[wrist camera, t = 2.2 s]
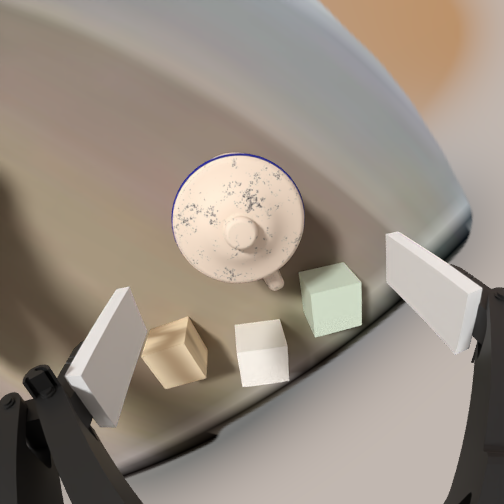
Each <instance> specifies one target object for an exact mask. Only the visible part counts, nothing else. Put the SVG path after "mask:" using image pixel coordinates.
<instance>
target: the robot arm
mask: <svg viewBox="0 0 504 504" xmlns="http://www.w3.org/2000/svg"><path fill="white" fill-rule="evenodd" d="M386 282H387V283H388V284H389V285H390V286H391V287H392V288H393V289H394V290H395V291H396V292H397V293H398V294H399V295H400V296H401V297H402V298H403V299H404V300H405V301H406V303H408V305H410V307H411V308H412V309H413V310H414V311H415V312H416V313H417V314H418V315H419V316H420V317H421V318H422V319H423V320H424V321H425V322H426V323H427V324H428V325H429V327H430V328H431V329H432V330H433V331H434V332H435V333H436V334H437V335H438V336H439V337H440V338H441V340H442V341H443V342H444V343H445V344H446V345H447V346H448V347H449V348H450V349H451V351H452V352H453V353H454V354H455V355H456V354H458V353H460V352H462V351H464V350H466V349H468V348H469V346H470V342H471V339H472V336H473V337H474V338H475V339H476V340H477V345H476V348H475V352H474V355H473V358H472V361H471V362H472V363H474V360H475V363H474V364H475V365H474V375H473V385H472V394H471V401H470V407H469V414H468V420H467V425H466V430H465V435H464V440H463V445H462V449H461V453H460V457H459V461H458V465H457V469H456V473H455V476H454V479H453V483H452V486H451V489H450V492H449V495H448V497H447V499H446V500H445V502H444V504H504V288H494V289H490V288H489V287H487V286H486V285H485V284H483V283H482V282H481V281H479V280H478V279H476V278H474V277H473V276H472V275H471V274H468V272H466V271H465V270H463V269H462V268H460V267H457V266H455V265H452V264H450V265H449V264H448V263H446V262H445V261H443V260H442V259H440V258H439V257H437V256H436V255H434V254H433V253H431V252H430V251H428V250H426V249H425V248H423V247H422V246H420V245H419V244H417V243H416V242H414V241H412V240H411V239H409V238H408V237H406V236H405V235H403V234H401V233H400V232H394V233H389V234H386ZM146 334H147V330H146V327H145V325H144V322H143V320H142V317H141V315H140V312H139V310H138V307H137V305H136V302H135V300H134V297H133V295H132V292H131V289H130V287H125V288H120V289H116V291H115V292H114V294H113V295H112V297H111V298H110V300H109V302H108V303H107V305H106V306H105V308H104V309H103V311H102V313H101V314H100V316H99V317H98V319H97V321H96V322H95V324H94V326H93V327H92V329H91V330H90V332H89V334H88V335H87V337H86V339H85V341H83V342H81V343H80V344H79V345H78V346H77V347H75V348H74V350H73V351H72V353H71V355H70V358H68V360H67V362H66V364H65V365H64V367H63V369H62V370H61V372H60V374H59V376H58V377H57V378H56V376H55V375H54V373H53V372H52V370H51V369H50V367H49V366H48V365H39V366H36V367H34V368H33V369H31V370H30V371H29V372H28V373H27V374H26V375H25V377H24V378H23V385H24V386H25V387H26V389H27V390H28V392H29V393H30V394H31V396H32V397H33V399H31V400H27V401H24V400H23V399H22V398H21V396H20V395H19V394H18V393H15V392H13V393H9V394H7V395H5V396H4V397H3V398H2V399H1V400H0V504H64V503H63V496H62V491H61V484H60V478H61V480H62V482H63V485H64V487H65V489H66V492H67V494H68V496H69V498H70V500H71V502H72V504H143V503H142V502H141V500H140V499H139V498H138V496H137V495H136V494H135V493H134V491H133V490H132V488H131V487H130V485H129V484H128V483H127V481H126V480H125V478H124V477H123V475H122V474H121V473H120V471H119V470H118V468H117V467H116V465H115V464H114V462H113V460H112V459H111V457H110V456H109V454H108V452H107V451H106V449H105V448H104V446H103V444H102V443H101V441H100V439H99V437H98V436H97V434H96V432H95V430H94V429H93V428H92V427H91V425H90V424H91V421H92V418H93V419H94V420H95V421H96V423H97V424H98V425H99V426H100V427H117V424H118V420H119V417H120V413H121V410H122V407H123V403H124V400H125V397H126V394H127V391H128V387H129V384H130V381H131V378H132V375H133V372H134V369H135V366H136V363H137V360H138V357H139V354H140V351H141V348H142V345H143V342H144V340H145V337H146ZM59 476H60V478H59Z"/></svg>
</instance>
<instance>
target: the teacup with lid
mask: <svg viewBox="0 0 504 504" xmlns="http://www.w3.org/2000/svg"><path fill="white" fill-rule="evenodd" d="M304 223H305V211H304V204H303V200H302V197H301V194H300V192H299V190H298V188H297V186H296V184H295V183H294V181H293V180H292V179H291V177H290V176H289V175H288V174H287V173H286V172H285V171H284V170H283V169H282V168H280V167H279V166H278V165H276V164H275V163H273V162H271V161H269V160H267V159H265V158H262V157H260V156H256V155H251V154H245V153H226V154H222V155H219V156H216V157H214V158H212V159H210V160H209V161H207V162H205V163H203V164H202V165H200V166H199V167H197V168H196V169H195V170H194V171H193V172H192V173H191V174H189V176H188V177H187V178H186V179H185V180H184V182H183V183H182V185H181V187H180V188H179V190H178V192H177V195H176V197H175V200H174V203H173V208H172V229H173V234H174V237H175V241H176V243H177V245H178V247H179V249H180V251H181V253H182V254H183V255H184V257H185V258H186V259H187V260H188V262H189V263H190V264H191V265H192V266H193V267H194V268H196V269H197V270H198V271H200V272H201V273H203V274H204V275H206V276H208V277H210V278H213V279H216V280H219V281H223V282H228V283H247V282H252V281H256V280H260V279H262V278H263V279H264V280H265V282H266V284H267V285H268V287H269V288H270V289H271V290H273V291H277V290H279V289H281V288H282V287H283V286H284V281H283V278H282V276H281V274H280V271H279V269H280V268H281V267H282V266H283V265H284V264H285V263H286V262H287V261H288V260H289V259H290V258H291V257H292V255H293V254H294V252H295V251H296V249H297V247H298V245H299V243H300V240H301V237H302V234H303V230H304Z"/></svg>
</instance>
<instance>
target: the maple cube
mask: <svg viewBox="0 0 504 504" xmlns="http://www.w3.org/2000/svg"><path fill="white" fill-rule="evenodd" d="M207 354H208V349H207V348H206V346H205V344H204V342H203V341H202V339H201V337H200V336H199V334H198V332H197V331H196V329H195V327H194V325H193V324H192V322H191V320H190V318H189V317H186V318H183V319H180V320H177V321H174V322H171V323H168V324H165V325H162V326H159V327H156V328H153V329H150V331H149V334H148V337H147V340H146V343H145V346H144V349H143V352H142V356H141V357H142V359H143V360H144V361H145V363H146V364H147V366H148V367H149V368H150V370H151V371H152V372H153V374H154V375H155V376H156V378H157V379H158V380H159V382H160V383H161V384H162V385H163V387H164V388H165V389H168V388H172V387H176V386H180V385H183V384H187V383H191V382H194V381H198V380H202V379H205V378H206V376H207Z"/></svg>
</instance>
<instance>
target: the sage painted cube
mask: <svg viewBox="0 0 504 504" xmlns="http://www.w3.org/2000/svg"><path fill="white" fill-rule="evenodd" d="M299 279H300V287H301V294H302V302H303V310H304V314H305V316H306V318H307V320H308V323H309V325H310V327H311V330H312V332H313V334H314V336H315V337H319V336H323V335H327V334H331V333H334V332H338V331H342V330H346V329H349V328H353V327H356V326H360V325H362V291H361V281H360V280H359V279H358V278H357V277H356V276H355V274H354V273H353V272H352V271H351V270H350V269H349V268H348V267H347V266H346V264H345V263H344V262H342V263H337V264H333V265H329V266H324V267H320V268H315V269H311V270H306V271H302V272H299Z"/></svg>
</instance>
